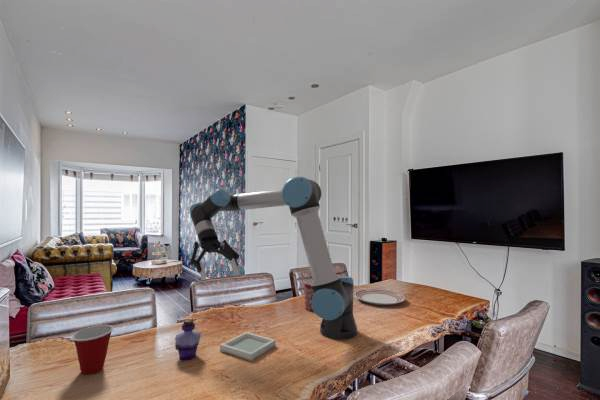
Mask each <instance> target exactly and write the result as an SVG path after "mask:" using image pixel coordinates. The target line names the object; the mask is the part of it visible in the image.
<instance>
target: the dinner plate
mask: <svg viewBox="0 0 600 400" xmlns="http://www.w3.org/2000/svg"><path fill="white" fill-rule="evenodd" d="M354 296H355V297H356V298H357V299H358V300H360V301H362V302H365V303H366V304H370V305H375V306H392V305H398V304H400V303H402V302H404V301H405V300H406V298H405V296H404V295H403V294H402V293H399V292H395V291H393V290H388V289H380V288H379V289H378V288H367V289H360V290H357V291H355V292H354Z"/></svg>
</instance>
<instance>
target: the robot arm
mask: <svg viewBox="0 0 600 400" xmlns="http://www.w3.org/2000/svg"><path fill="white" fill-rule="evenodd" d="M321 199H322V188H321V186H320V185H319V183H317V182H316V181H315V180H312V179H308V178H306V177H304V176H296V177H295V176H294V177H291V178H289V179H288V180H286V181H285V183H284V184H283V186H282V188H280V189H279V188H278V189H277V188H276V189H269V190H263V191H256V192H255V191H254V192H247V193H238V194H229V193H228V192H227V191H226V190H224V189H223V188H217V189H216V190H215V191H213V192H212V193H211V194H210V195H209V196H208V197H207V198H206V199H205V200H204V201H202V202H201V201H200V202H196V203H193V204H191V206H190V207H189V213H190V218H191V220H192V223H193V226H194V229H195V230H194V231H195V233H196V235H197V239H198V241H199V243H198V241H195V242H194V243H193V244H192V248H193V251H192V254H191V257H190V261H189V266H190V265H191V266H192V265H193V266H194V267H195V268H196V272H197V273H199V274H200V277H201V280H202V281H205V280H206V278H207V274H206V270H205V266H204V264H203V261H202V259H203V257H204V256H205V254H206V253H208V254H211V253H217V254H220V255H221V256H223V257H224V258H226V259H227V260H229V261H230V262H229V263H230V267H231V268H232V271H233V275H234V277H237V276H238V275H239V273H240V270H239V268H238V266H239V263H238V259H239V258H240V255H239V253H238V252H237V251H235V249H234V248H232V246H230V245H229V243H228V242H227V240H226V239H224V240H223V241H220V240H219V237H218V235H217V232H216V230H215V226H214V224H213V220H212V218H213V217H215V216H216V215H217V214H218V213H219V212H239V211H243V210H255V209H264V208H265V209H266V208H275V207H284V206H288V207H289V212H290V214H291V215H290V216H292V217H293V218H295V219H296V222H297V226H298V230H299V233H300V236H301V240H302V244H303V248H304V251H305V254H306V258H307V262H308V265H309V269H310V272H311V277H312V280H311V281H312V283H311V289H312V293H313V297H312V302H311V303H312V308H313V310H314V311H313V312H314V313H315V315H316V316H317V317H319V318H321V322H320V326H319V329H320V331H319V332H320V334H321V335H322V336H324V337H326V338H328V339H333V340H349V339H353V338H356V336H357V335H358V327H357V323H356V319H355V317H354V286H355V284H354V279H353V277H352V276H346V275H338V274H336V273H335V268H334V264H333V262H332V257H331V255H330V252H329V248H328V245H327V240H326V237H325V234H324V230H323V226H322V223H321V219H320V216H319V210H320V208H321V204H320V201H321ZM199 248H201V249H202V251H201V253H200V254H199V256H198V257H197V253H198V249H199ZM196 257H197V259H196Z"/></svg>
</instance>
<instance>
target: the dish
mask: <svg viewBox="0 0 600 400" xmlns="http://www.w3.org/2000/svg"><path fill="white" fill-rule="evenodd" d="M276 343H277V341H276V339H274V338H270V337H266V336H264V335H258V334H255V333H251V332H248V331H245V332H242V333H241V334H239V335H238V336H235V337H233V338H231V339H229V340H227V341H224V342H223V343H220V344H219V352H222V353H225V354H229V355H231V356H235V357H238V358H240V359H243V360H247V361H249V362H253V361H254V360H256V359H257V358H258V357H260V356H262V355H264V354H266V352H268V351H270V350H272V349H273V348H275V347H276V346H277V345H276Z"/></svg>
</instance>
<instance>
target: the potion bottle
mask: <svg viewBox="0 0 600 400" xmlns="http://www.w3.org/2000/svg"><path fill="white" fill-rule="evenodd" d="M195 329H196V323H195V322H194V320H193V319H186V320H184V321H183V324H182V325H181V331H183V332H180V333H178V334H176V335H175V338H174V340H175V342H174V343H175V344H174V347H175V350H176V351H178V357H179V358H178V359H179V360H181V361H190V360H193V359H195V358H197V357H196V356H197V350H198V346H199V345H200V344H199V343H200V340H201V336H202V335H201V332H198V331H196V330H195ZM194 330H195V331H194Z"/></svg>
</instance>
